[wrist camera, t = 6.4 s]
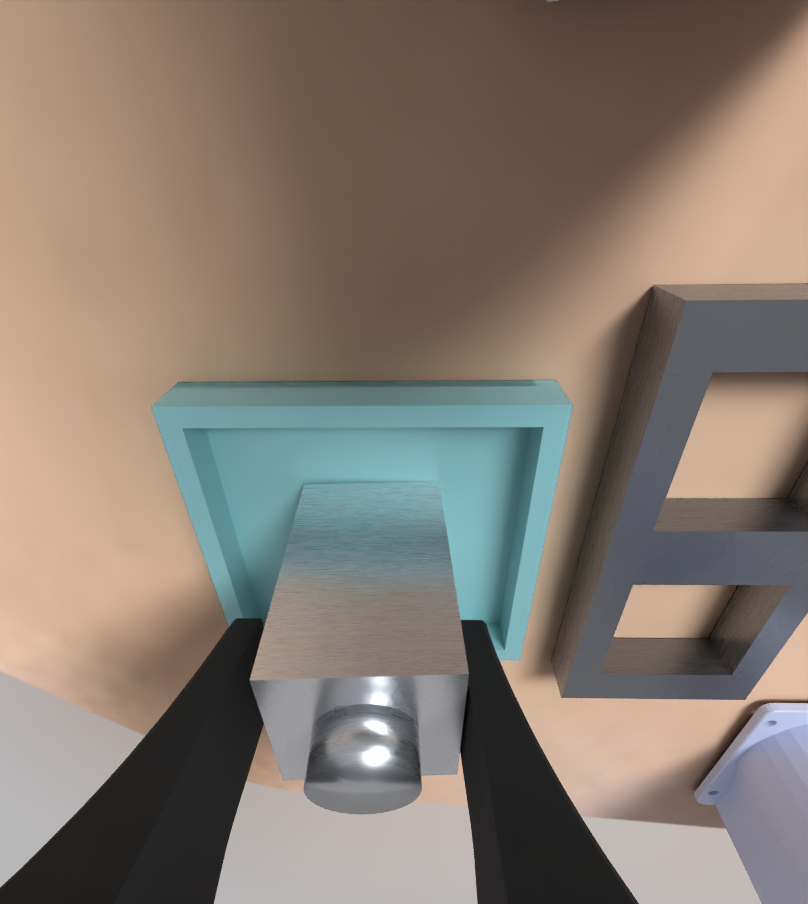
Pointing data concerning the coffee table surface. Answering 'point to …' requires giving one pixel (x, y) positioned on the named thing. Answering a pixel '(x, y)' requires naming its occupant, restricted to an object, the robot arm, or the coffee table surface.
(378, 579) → the metal knob block
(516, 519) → the parts tray
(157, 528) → the coffee table surface
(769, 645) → the frame
